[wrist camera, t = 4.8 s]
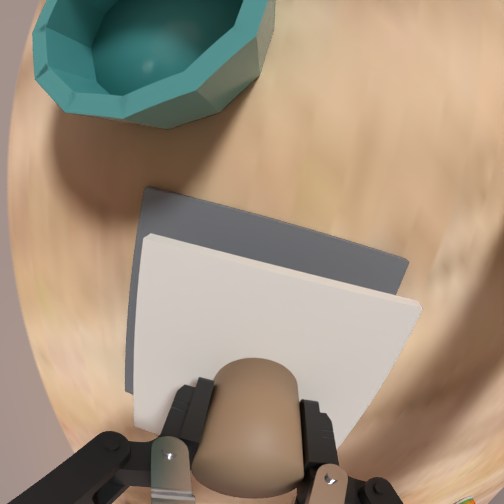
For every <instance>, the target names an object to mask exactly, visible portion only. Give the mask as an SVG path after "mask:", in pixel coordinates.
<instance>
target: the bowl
mask: <svg viewBox="0 0 504 504" xmlns="http://www.w3.org/2000/svg"><path fill="white" fill-rule="evenodd" d="M274 20H275V0H47V1H46V3H45V5H44V7H43V10H42V12H41V14H40V16H39V19H38V21H37V23H36V26H35V28H34V31H33V60H34V74H35V80H36V81H37V82H38V84H39V85H40V86H41V87H42V88H43V89H44V90H45V91H46V92H47V93H48V95H49V96H50V97H51V98H52V99H53V100H54V101H55V102H56V103H57V104H58V105H59V107H60V108H61V109H62V110H63V111H64V112H65V113H71V114H77V115H84V116H90V117H96V118H102V119H107V120H113V121H118V122H124V123H131V124H137V125H144V126H150V127H155V128H161V129H166V130H168V129H171V128H174V127H177V126H180V125H183V124H186V123H188V122H191V121H195V120H198V119H201V118H204V117H207V116H210V115H213V114H217V113H220V112H221V111H222V110H223V109H224V108H225V107H226V106H227V105H228V104H229V103H230V102H231V101H232V100H233V99H234V98H235V97H237V96H238V95H239V94H240V93H241V92H242V91H243V90H244V89H245V88H246V87H247V86H248V85H249V84H251V83H252V82H253V81H254V80H255V79H256V78H257V77H258V76H260V73H261V70H262V67H263V63H264V60H265V57H266V54H267V51H268V47H269V44H270V41H271V38H272V35H273V32H274Z"/></svg>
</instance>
